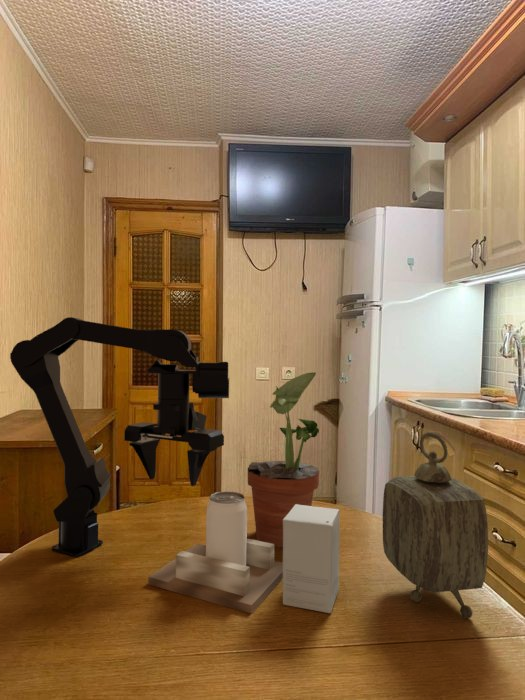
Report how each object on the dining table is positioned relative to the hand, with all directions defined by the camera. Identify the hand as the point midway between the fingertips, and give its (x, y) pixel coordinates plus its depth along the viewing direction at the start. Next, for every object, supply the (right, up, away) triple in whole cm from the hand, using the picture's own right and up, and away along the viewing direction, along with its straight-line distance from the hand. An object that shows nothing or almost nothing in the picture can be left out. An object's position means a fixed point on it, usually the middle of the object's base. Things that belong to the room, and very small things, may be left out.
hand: (172, 482), depth 88 cm
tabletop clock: (+41, -13, -17) cm, 47 cm away
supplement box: (+24, -13, -17) cm, 32 cm away
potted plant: (+21, -13, +7) cm, 25 cm away
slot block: (+10, -12, -11) cm, 19 cm away
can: (+11, -11, -12) cm, 19 cm away
